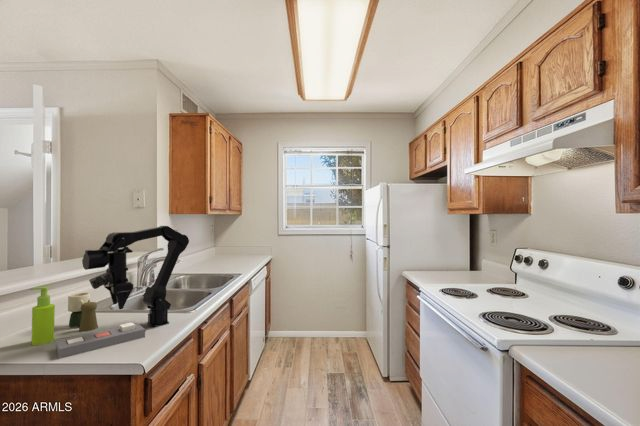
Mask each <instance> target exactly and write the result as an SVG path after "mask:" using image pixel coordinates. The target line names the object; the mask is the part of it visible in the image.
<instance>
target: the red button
mask: <svg viewBox="0 0 640 426" xmlns="http://www.w3.org/2000/svg"><path fill="white" fill-rule="evenodd" d="M107 335H111V334H110V333H109V332H103V333H99V334H95V337H96V338H99V337H103V336H107Z"/></svg>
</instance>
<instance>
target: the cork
mask: <svg viewBox="0 0 640 426" xmlns="http://www.w3.org/2000/svg"><path fill="white" fill-rule="evenodd" d="M97 307H98V303H97V302H95V301H90V302H86V303H84V304H82V305H81V311H82V317H81V323H80V327H79V330H78V331H79V332H90V331H93V330H96V329H98V327H99V326H98V319H97V314H96V310H97Z"/></svg>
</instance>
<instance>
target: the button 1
mask: <svg viewBox="0 0 640 426" xmlns="http://www.w3.org/2000/svg"><path fill="white" fill-rule="evenodd" d="M81 341H84V339H83V338H82V337H80V338H76V339H71V340H67V345H68V344H73V343H77V342H81Z"/></svg>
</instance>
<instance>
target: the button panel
mask: <svg viewBox="0 0 640 426" xmlns="http://www.w3.org/2000/svg"><path fill="white" fill-rule="evenodd" d="M134 324H135V329H134V330H129V331H125V332H121V331H120V326H115V327H111V328H108V329H101V330H98V331H93V332H88V333H85V334H79V335H74V336H71V337H66V338H61V339H60V338H59V339H56V341H55V350H56V355H57V357H58V359H59V360H60V359H64V358H68V357H72V356H76V355H80V354H84V353H87V352H88V353H89V352H92V351H96V350H99V349H103V348H107V347H112V346H115V345H116V346H117V345H119V344H123V343H127V342H132V341H136V340H139V339H143V338H146V328H144V327H143V326H142V325H140V323H138V322H134ZM103 332H109V333H110V334H111V335H107V336H103V337H99V338H96V337H95V334H99V333H103ZM80 337H82V338H83V339H84V341H81V342H77V343H73V344H68V345H67V340H71V339H76V338H80Z"/></svg>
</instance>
